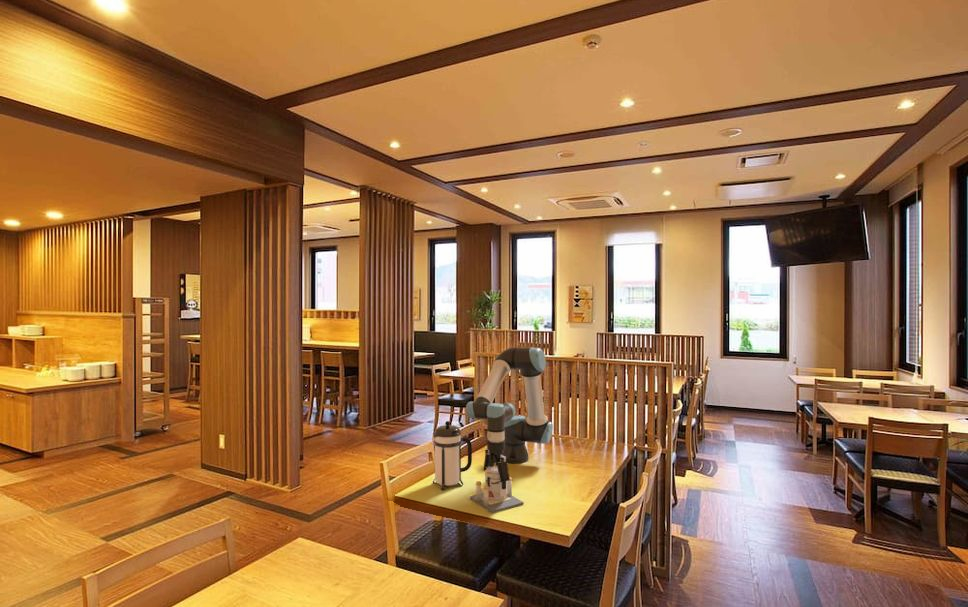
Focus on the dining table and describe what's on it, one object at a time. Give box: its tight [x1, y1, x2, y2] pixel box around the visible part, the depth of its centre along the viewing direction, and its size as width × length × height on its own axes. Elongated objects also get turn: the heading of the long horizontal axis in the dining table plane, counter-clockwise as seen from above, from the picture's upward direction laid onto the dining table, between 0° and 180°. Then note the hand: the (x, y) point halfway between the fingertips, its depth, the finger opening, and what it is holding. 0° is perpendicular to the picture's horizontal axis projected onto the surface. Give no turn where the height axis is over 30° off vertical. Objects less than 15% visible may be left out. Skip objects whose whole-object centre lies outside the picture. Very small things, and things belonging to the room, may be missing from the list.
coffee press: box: [432, 420, 473, 491], centre depth 231 cm, size 17×16×30 cm
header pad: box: [469, 476, 525, 514], centre depth 210 cm, size 18×16×9 cm
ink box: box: [484, 465, 507, 499], centre depth 210 cm, size 8×5×12 cm, turn 72°
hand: (496, 492), depth 210 cm, fingers closed on ink box, 9 cm apart
